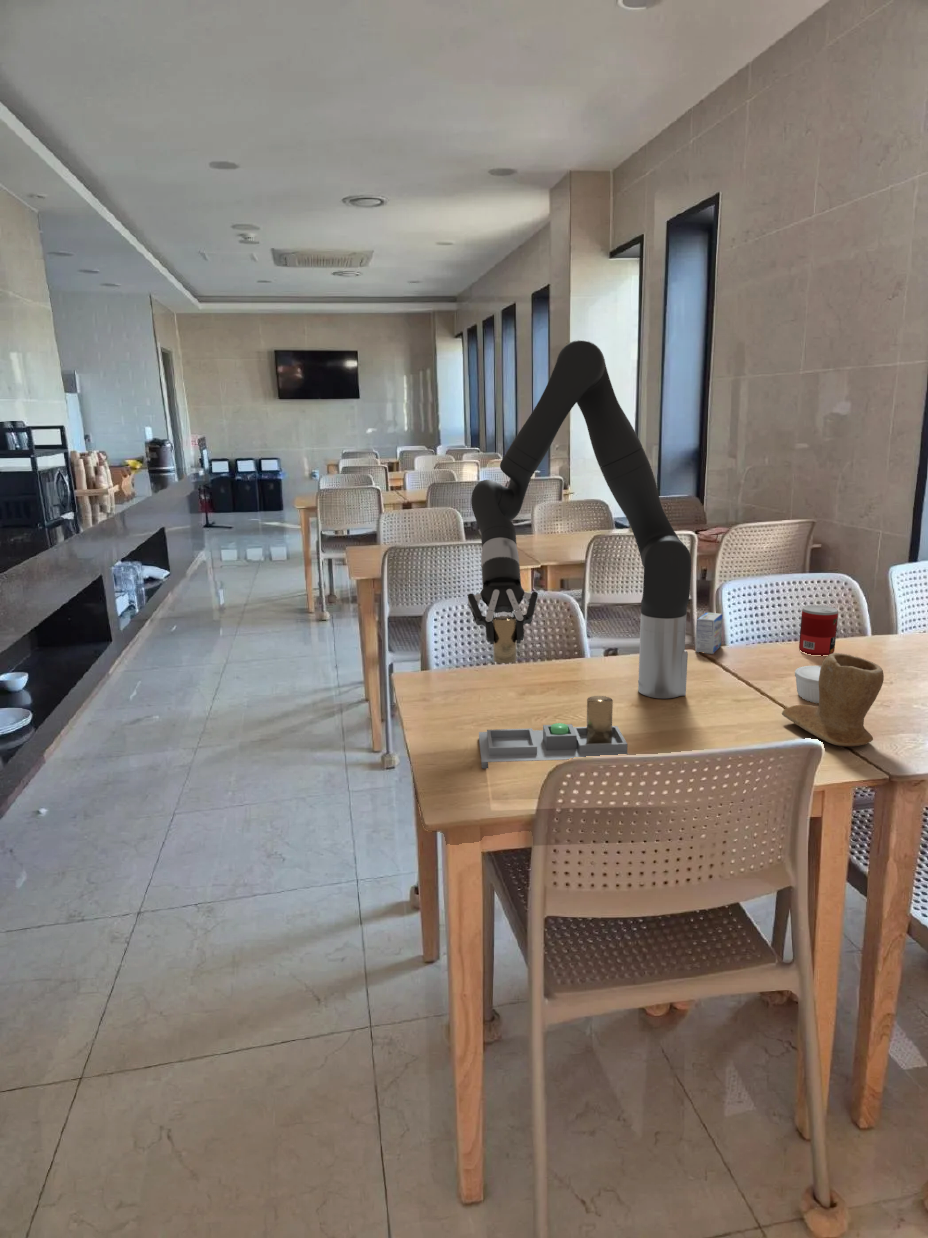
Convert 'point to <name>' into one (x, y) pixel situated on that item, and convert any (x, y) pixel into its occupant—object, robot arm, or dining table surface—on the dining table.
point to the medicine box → (708, 633)
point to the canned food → (818, 630)
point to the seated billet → (599, 720)
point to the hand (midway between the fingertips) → (505, 641)
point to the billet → (504, 639)
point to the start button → (559, 728)
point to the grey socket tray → (544, 745)
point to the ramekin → (808, 682)
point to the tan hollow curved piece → (841, 701)
